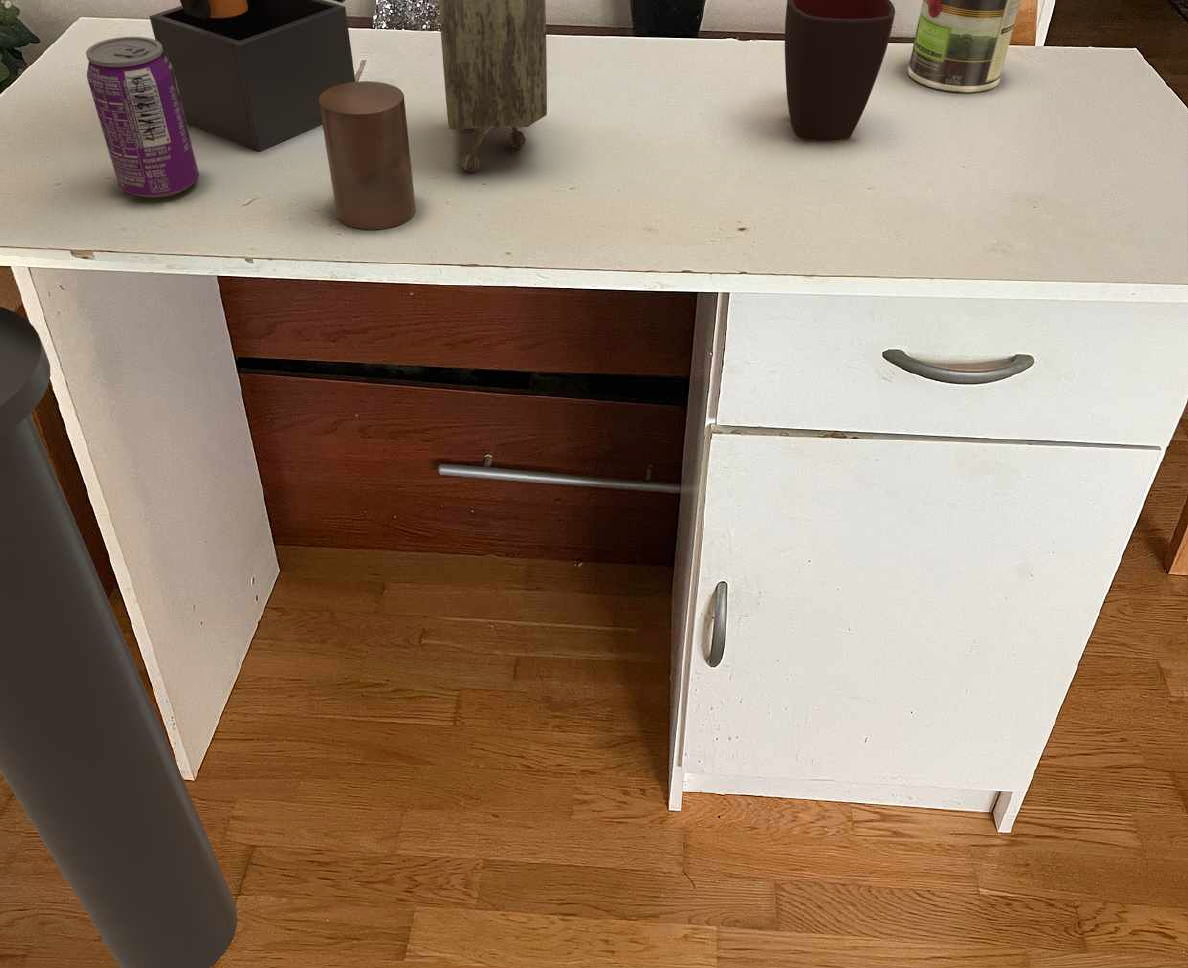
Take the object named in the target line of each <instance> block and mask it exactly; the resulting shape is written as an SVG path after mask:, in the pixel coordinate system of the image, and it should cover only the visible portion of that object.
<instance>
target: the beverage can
mask: <svg viewBox="0 0 1188 968" xmlns="http://www.w3.org/2000/svg"><path fill="white" fill-rule="evenodd" d="M85 55H86V58H87V60H88V65H87V70H86V79H87V83H88V86H89V90H90V94H91V97H92V100H93V103H94V107H95V110H96V113H97V116H98V121H99V123H100V127H101V129H102V133H103V137H104V140H105V143H106V147H107V150H108V154H109V157H110V160H111V163H112V164H111V165H112V168H113V172H114V174H115V177H116V180H117V184H118V187H119V188H120V189H121V190H122V191H124V192H126V193H128V194H130V195H135V196H139V197H141V198H146V199H163V198H169V197H173V196H176V195H178V194H181V193H183V192H184V191H185V190H187V189H188V188H190V187H191V186H192V185H194V184H195V183H196V182H197V180H199V177H200V172H199V168H198V164H197V160H196V156H195V151H194V148H193V143H192V140H191V135H190V132H189V128H188V124H187V123H186V119H185V115H184V111H183V106H182V102H181V98H180V94H179V90H178V86H177V82H176V78H175V74H174V70H173V67H172V65H171V63H170V62H169V60H168V59H167V58H166V56H165V55H164V54H163V48H162V45H161V43H160V42H158V41H156V40H155V38H150V37H146V36H145V37H144V36H122V37H115V38H109V39H104V40H102V41H99V42H97V43H94V44H92V45H91V46H89V47H88V48H87V49H86V50H85Z"/></svg>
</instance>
